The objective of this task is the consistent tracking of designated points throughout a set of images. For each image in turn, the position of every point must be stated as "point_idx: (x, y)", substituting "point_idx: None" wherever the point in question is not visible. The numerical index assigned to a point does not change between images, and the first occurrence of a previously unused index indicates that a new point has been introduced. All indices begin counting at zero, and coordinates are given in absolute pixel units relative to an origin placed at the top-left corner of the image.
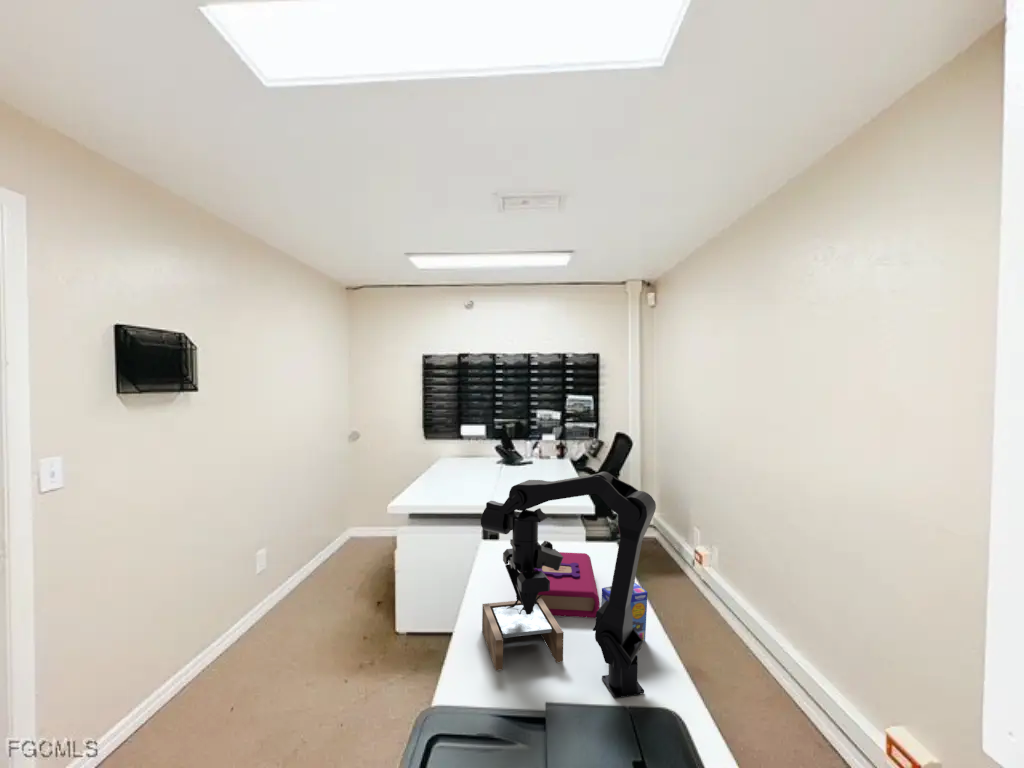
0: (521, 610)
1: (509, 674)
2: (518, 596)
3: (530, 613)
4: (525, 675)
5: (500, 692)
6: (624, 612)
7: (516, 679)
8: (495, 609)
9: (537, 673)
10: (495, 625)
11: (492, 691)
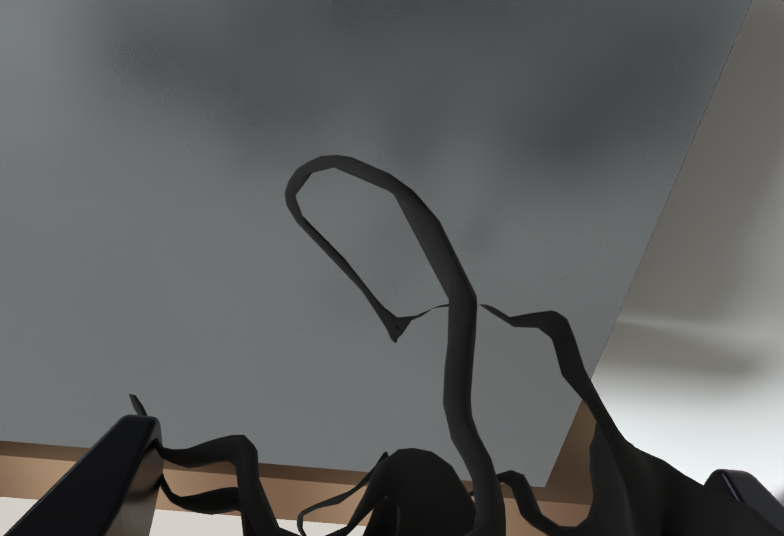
0: (554, 528)
1: (643, 294)
2: (150, 515)
3: (752, 489)
4: (722, 205)
5: (768, 383)
6: None
7: (721, 273)
8: (14, 425)
9: (761, 113)
10: (359, 497)
11: (730, 413)
